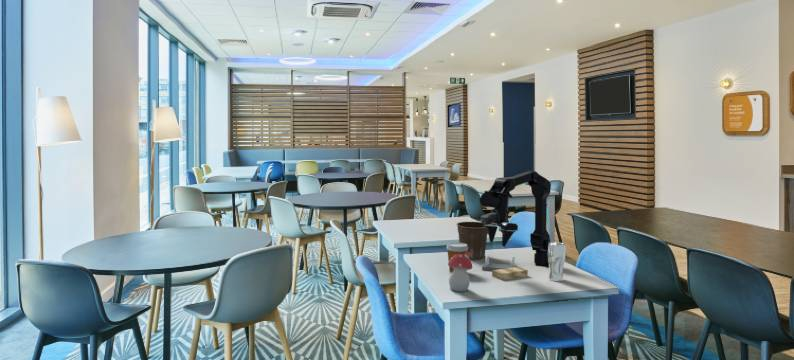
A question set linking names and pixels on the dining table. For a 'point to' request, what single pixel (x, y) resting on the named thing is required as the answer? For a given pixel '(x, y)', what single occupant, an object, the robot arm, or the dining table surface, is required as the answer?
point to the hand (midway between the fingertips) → (497, 244)
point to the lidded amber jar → (456, 250)
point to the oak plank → (509, 273)
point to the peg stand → (496, 265)
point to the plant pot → (473, 238)
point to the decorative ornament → (460, 272)
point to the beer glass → (556, 260)
